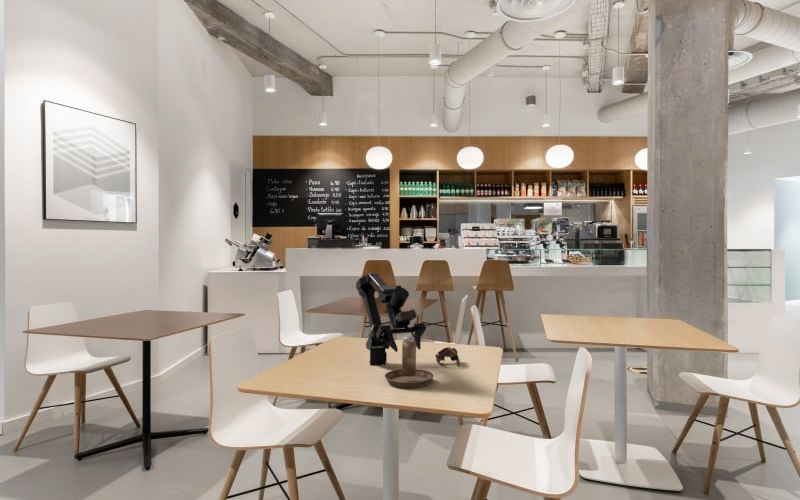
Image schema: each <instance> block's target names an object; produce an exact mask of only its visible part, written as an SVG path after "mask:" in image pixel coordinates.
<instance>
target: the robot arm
mask: <svg viewBox="0 0 800 500" xmlns="http://www.w3.org/2000/svg"><path fill="white" fill-rule="evenodd" d="M355 288H356V290H357V293H358V295H359V296H360V297H361V298H362V299H363V301H364V305H365V309H366V313H367V318H368V322H369V326H370V330H369V333H368V338H367V340H366V343H365V349H367V350H368V351H369V366H386V363H387V357H388V356H387V351H386V350H389V349H390V348H391V349H392V350H393V351H394V352H395V353H397V352H398V346H397V343H396V340H395V338H394V334H410V333H411V337H414V341H416V349H417V350H419V351H420V350H421V344H422V343H421V338H422V336H423V335H424V333H425V332H426V330H427V327H428V326H427V325H426V323H425V322H414V324H413V326H410V324H411V321H413V320H414V319H416V318H417V312H416V310H415V309H409V310H405V311H403V310H402V308H403V307H404V306H405V305H406V302H407V301H408V298H409V296H410V293H409V291H408V290H407V289H406V288H404V287H402V285H396V286H395V287H394V286H390V285H388V284H387V283H386V282H385V281H384V279H382V278H381V277H380V275H379V273H375V272H372V273H366V274H365V275H364V276H361V277H360V278H358V280H357V281H356V283H355ZM376 292H377V294H378V296H377V298H378V300H379V302H380V303H381V304H386V306H385V307H384V308H385V309H384V313H385V314H387V316H388V320H389V321H388V324H382V321H381V316H380V312H379V309H378V304H377V300H376V297H375V294H376Z"/></svg>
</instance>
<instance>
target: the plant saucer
mask: <svg viewBox="0 0 800 500" xmlns="http://www.w3.org/2000/svg"><path fill="white" fill-rule="evenodd" d="M384 378H385V380H386V381H387V382H388V384H390V385H391V386H393V387H396V388H405V389H415V388H422V387H426V386H427V385H429V384H430V383H431V381H432V380H433V379H434V374H433V372H431V371H429V370H425V369H419V368H416V375H415V376H403V375H402V368H400V369H394V370H390V371H388V372H386V373H385V374H384Z"/></svg>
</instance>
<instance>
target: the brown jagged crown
mask: <svg viewBox="0 0 800 500" xmlns="http://www.w3.org/2000/svg"><path fill="white" fill-rule="evenodd" d="M434 356H435V358H436V359H435V361H436V362H437V364H440V362H441V361H443V362H446V359H445V358H446V357H447V358H450V360H451V361H452V362H455V364H456V366H457V367H460V366H461V361H460V360H461V359H460V358H459V355H458V350H457V349H456V348H455V347H451V346H447V347H443V348H442V349H441V350H439V351H438V352H437V353H436V354H435V355H434Z"/></svg>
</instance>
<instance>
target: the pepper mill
mask: <svg viewBox="0 0 800 500" xmlns="http://www.w3.org/2000/svg"><path fill="white" fill-rule="evenodd" d="M403 339H404V340H402V342H401V343H402V345H401V349H402V350H401V352H402V353H401V357H402V358H401V369H402V375H403V376H415V375H416V369H417V367H416V366H417V346H416V341H414V337H413V336H412V335H410V336H404V338H403Z"/></svg>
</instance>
